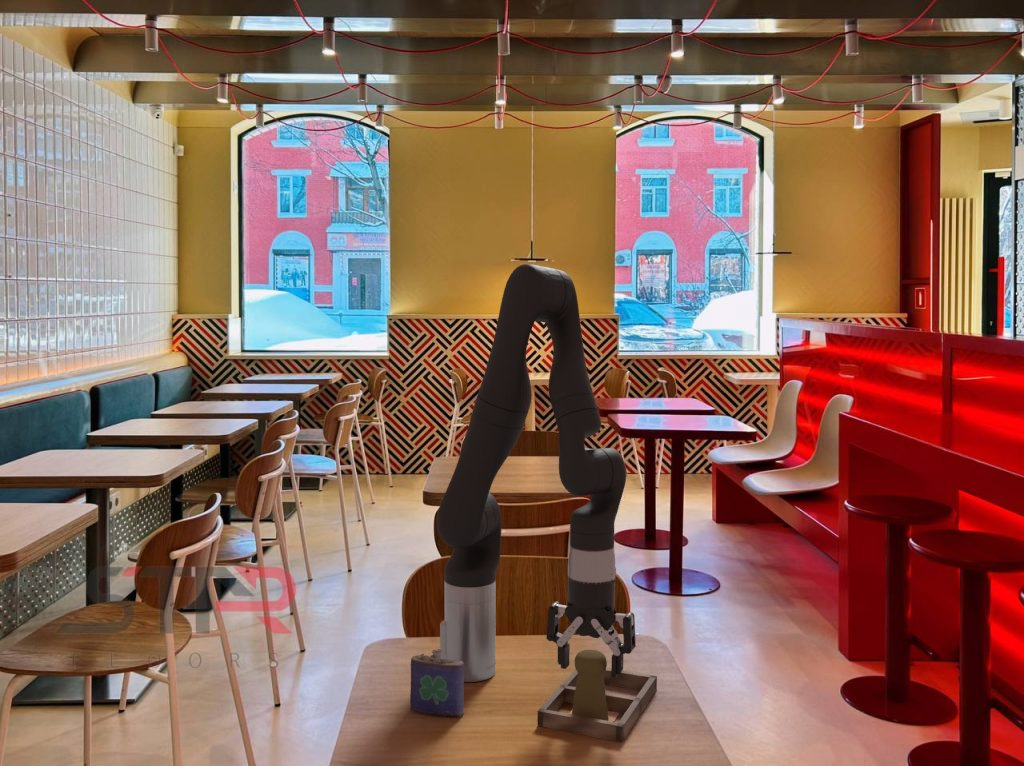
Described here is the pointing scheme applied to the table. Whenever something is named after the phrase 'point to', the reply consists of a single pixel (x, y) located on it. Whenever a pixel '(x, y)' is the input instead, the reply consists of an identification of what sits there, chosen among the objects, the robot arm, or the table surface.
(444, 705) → the flask
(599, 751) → the table surface
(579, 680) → the cork
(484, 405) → the robot arm
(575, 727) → the caddy
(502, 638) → the table surface
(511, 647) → the table surface
